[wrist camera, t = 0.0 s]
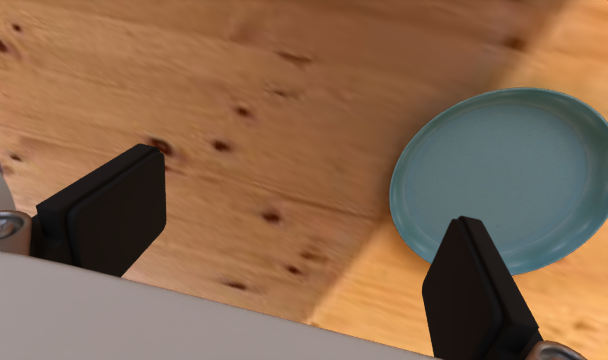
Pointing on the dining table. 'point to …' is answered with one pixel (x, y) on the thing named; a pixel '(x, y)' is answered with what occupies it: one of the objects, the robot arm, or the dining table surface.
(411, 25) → the dining table surface
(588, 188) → the saucer
